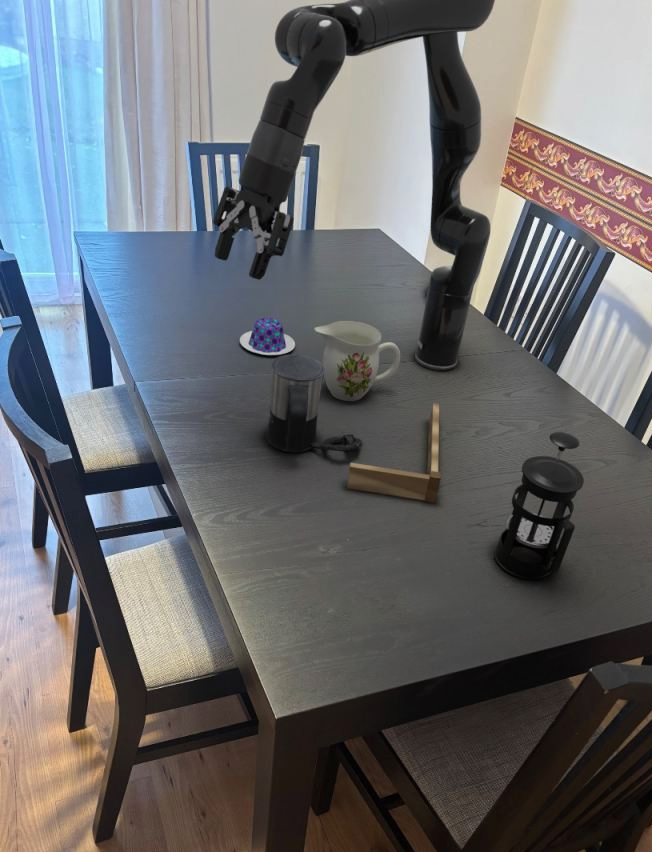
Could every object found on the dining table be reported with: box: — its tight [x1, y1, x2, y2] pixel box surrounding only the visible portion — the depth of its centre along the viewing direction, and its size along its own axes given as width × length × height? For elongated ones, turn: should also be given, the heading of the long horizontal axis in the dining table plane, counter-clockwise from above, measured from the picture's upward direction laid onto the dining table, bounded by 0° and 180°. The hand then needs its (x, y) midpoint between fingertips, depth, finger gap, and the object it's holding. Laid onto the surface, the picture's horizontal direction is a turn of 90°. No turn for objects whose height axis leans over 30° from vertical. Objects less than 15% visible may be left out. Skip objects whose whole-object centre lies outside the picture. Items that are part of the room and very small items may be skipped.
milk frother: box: [266, 354, 363, 454], centre depth 138 cm, size 14×16×15 cm
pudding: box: [239, 317, 296, 356], centre depth 169 cm, size 12×12×5 cm
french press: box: [493, 431, 585, 582], centre depth 116 cm, size 12×9×23 cm
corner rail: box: [346, 403, 442, 504], centre depth 141 cm, size 26×15×5 cm, turn 174°
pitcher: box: [313, 320, 401, 402], centre depth 155 cm, size 11×18×14 cm, turn 103°
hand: (237, 268), depth 121 cm, fingers open, 8 cm apart
